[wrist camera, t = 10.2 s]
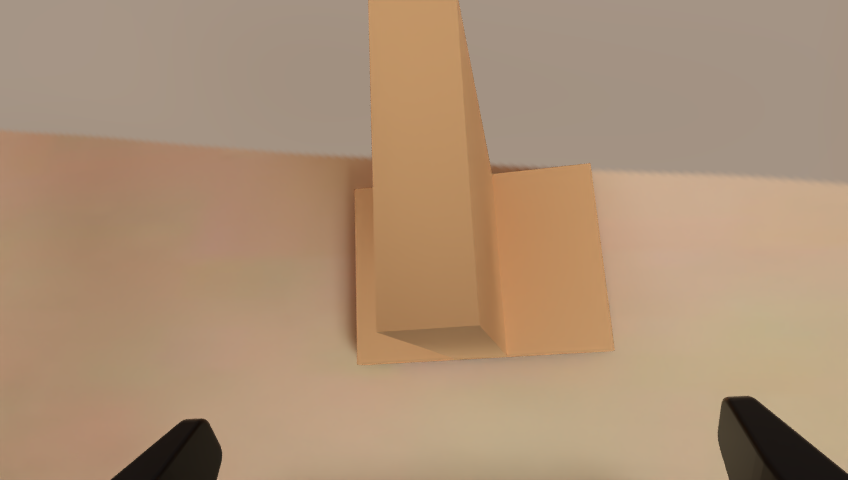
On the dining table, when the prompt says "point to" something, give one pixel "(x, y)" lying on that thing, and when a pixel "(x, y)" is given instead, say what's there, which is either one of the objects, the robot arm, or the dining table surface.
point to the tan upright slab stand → (463, 216)
